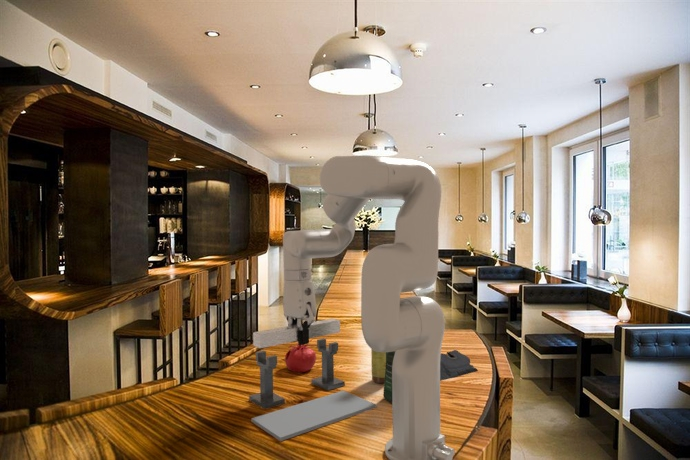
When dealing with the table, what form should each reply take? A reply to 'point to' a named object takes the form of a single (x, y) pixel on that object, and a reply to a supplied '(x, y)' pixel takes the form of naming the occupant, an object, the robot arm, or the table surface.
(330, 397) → the mat
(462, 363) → the dark grey notched piece
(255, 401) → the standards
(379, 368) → the sauce bottle
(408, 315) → the robot arm
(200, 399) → the table surface
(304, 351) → the pomegranate
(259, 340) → the hang bar
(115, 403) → the table surface
